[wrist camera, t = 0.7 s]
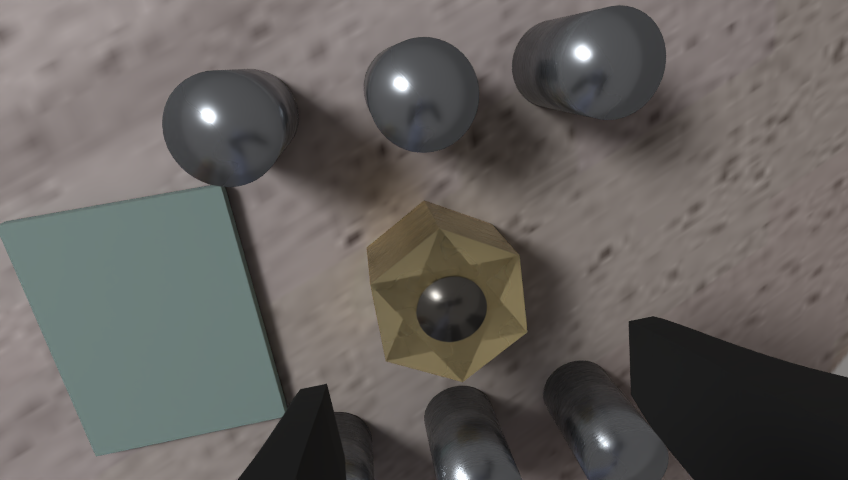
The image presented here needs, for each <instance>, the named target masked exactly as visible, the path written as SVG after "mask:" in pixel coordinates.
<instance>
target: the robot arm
mask: <svg viewBox="0 0 848 480" xmlns="http://www.w3.org/2000/svg"><path fill="white" fill-rule="evenodd" d="M629 346H630V378H631V395H632V397H633V398H634V400H635V402H636V403H637V405H638V407H639V408H640V410H641V412H642V413H643V415H644V417H645V418H646V420H647V421H648V423H649V424H650V426H651V427H652V429H653V430H654V432H655V433H656V434H657V435H658V437H659V438H660V439H661V440H662V442H663V443H664V444H665V445H666V447H667V448H668V449H669V450H670V451H671V453H672V454H673V455H674V456H675V458H676V459H677V460H678V461H679V462H680V464H681V465H682V466H683V467H684V468H685V470H686V471H687V472H688V473H689V474H690V476H691V477H692V478H693V479H694V480H848V378H847V377H844V376H840V375H836V374H831V373H827V372H823V371H819V370H815V369H811V368H807V367H804V366H800V365H797V364H793V363H790V362H786V361H783V360H780V359H777V358H774V357H770V356H767V355H764V354H761V353H758V352H755V351H752V350H749V349H746V348H743V347H740V346H737V345H734V344H732V343H729V342H726V341H723V340H721V339H718V338H715V337H712V336H710V335H707V334H704V333H702V332H699V331H696V330H693V329H691V328H688V327H685V326H682V325H680V324H677V323H674V322H671V321H668V320H665V319H661V318H658V317H654V316H652V317H647V318H643V319H638V320H633V321H629ZM238 480H346V466H345V455H344V451H343V447H342V443H341V439H340V435H339V431H338V426H337V422H336V418H335V414H334V410H333V406H332V402H331V398H330V394H329V390H328V386H327V384H324V385H319V386H314V387H309V388H304V389H300V390H299V392H298V393H297V395H296V396H295V398H294V399H293V401H292V402H291V404H290V405H289V407H288V409H287V410H286V412H285V413H284V415H283V416H282V418H281V420H280V421H279V423H278V424H277V426H276V427H275V429H274V430H273V432H272V433H271V435H270V436H269V438H268V439H267V441H266V442H265V443H264V445H263V446H262V448H261V449H260V451H259V452H258V454H257V455H256V456H255V458H254V459H253V460H252V462H251V463H250V464H249V466H248V467H247V468H246V469H245V471H244V472H243V473H242V475H241V476H240V477H239V479H238Z"/></svg>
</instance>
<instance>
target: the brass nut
mask: <svg viewBox="0 0 848 480" xmlns="http://www.w3.org/2000/svg"><path fill="white" fill-rule="evenodd" d="M367 256H368V266H369V276H370V285H371V290H372V295H373V300H374V305H375V310H376V315H377V320H378V325H379V330H380V335H381V340H382V344H383V349H384V354H385V359H386V361H387V362H390V363H394V364H398V365H402V366H405V367H409V368H413V369H416V370H420V371H424V372H427V373H431V374H435V375H438V376H442V377H446V378H450V379H453V380H457V381H461V382H463V381H465V380H466V379H467V378H469V377H470V376H471V375H473V374H474V373H475V372H476V371H478V370H479V369H480V368H482V367H483V366H484V365H485V364H487V363H488V362H489V361H491V360H492V359H493V358H495V357H496V356H497V355H498V354H500V353H501V352H502V351H504V350H505V349H506V348H507V347H509V346H510V345H511V344H513V343H514V342H515V341H517V340H518V339H519V338H520V337H522V336H523V335H524V334H526V333H527V324H526V314H525V304H524V294H523V285H522V275H521V265H520V255H519V254H518V253H517V252H516V251H515V250H514V249H513V248H512V247H511V245H510V244H509V243H508V242H507V241H506V240H505V239H504V238H503V236H502V235H501V234H500V233H499V232H498V231H497V230H496V229H495V227H494V226H493V225H492V224H490V223H487V222H484V221H481V220H478V219H476V218H473V217H470V216H467V215H464V214H461V213H458V212H456V211H453V210H450V209H447V208H444V207H441V206H438V205H436V204H433V203H430V202H427V201H423V202H422V203H420V204H419V205H418V206H417V207H415V208H414V209H413V210H412V211H411V212H409V213H408V214H407V215H406V216H405V217H403V218H402V219H401V220H400V221H398V222H397V223H396V224H395V225H394V226H392V227H391V228H390V229H389V230H388V231H386V232H385V233H384V234H383V235H381V236H380V237H379V238H378V239H377V240H375V241H374V242H373V243H372V244H370V245H369V246H368V247H367Z"/></svg>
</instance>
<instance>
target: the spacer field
mask: <svg viewBox="0 0 848 480" xmlns="http://www.w3.org/2000/svg"><path fill="white" fill-rule="evenodd" d="M665 64H666V48H665V43H664V39H663V36H662V34H661V32H660V30H659V28H658V26H657V25H656V23H655V22H654V21H653V20H652V19H651V18H650V17H649V16H648V15H647V14H645V13H644V12H642V11H640V10H638V9H636V8H633V7H629V6H611V7H606V8H602V9H597V10H593V11H588V12H584V13H579V14H575V15H571V16H566V17H562V18H557V19H553V20H548V21H544V22H541V23H539V24H537V25H535V26H533V27H532V28H531V29H529V30H528V31H527V32H526V33H525V34H524V35H523V37H522V38H521V39H520V41H519V43H518V45H517V47H516V49H515V52H514V55H513V60H512V73H513V78H514V82H515V84H516V86H517V88H518V90H519V92H520V93H521V94H522V95H523V96H524V97H525V98H526V99H527V100H528V101H530V102H531V103H533V104H535V105H538V106H541V107H546V108H551V109H555V110H560V111H564V112H569V113H574V114H578V115H583V116H588V117H592V118H597V119H602V120H614V119H619V118H623V117H626V116H628V115H631V114H632V113H634V112H636V111H637V110H639V109H640V108H642V107H643V106H644V105H645V104H646V103H647V102H648V101H649V100H650V99H651V97H652V96H653V95H654V93H655V92H656V90H657V88H658V86H659V85H660V82H661V80H662V77H663V74H664V70H665ZM364 96H365V100H366V103H367V106H368V108H369V111H370V113H371V115H372V117H373V120H374V122H375V123H376V125H377V127H378V128H379V130H380V131H381V133H382V134H383V135H384V136H385V137H386V138H387V139H388V140H390V141H391V142H392V143H394V144H395V145H397V146H399V147H401V148H403V149H406V150H409V151H413V152H422V153H426V152H434V151H438V150H441V149H444V148H446V147H448V146H450V145H452V144H453V143H455V142H456V141H457V140H459V139H460V138H461V137H462V136H463V135H464V134H465V132H466V131H467V130H468V128H469V127H470V125H471V124H472V122H473V120H474V117H475V115H476V112H477V108H478V103H479V86H478V81H477V77H476V74H475V72H474V69H473V67H472V65H471V64H470V62H469V61H468V59H467V58H466V57H465V56H464V54H463V53H462V52H460V51H459V50H458V49H457V48H456V47H454V46H453V45H451V44H449V43H447V42H445V41H443V40H440V39H436V38H431V37H418V38H412V39H408V40H406V41H403V42H401V43H398V44H396V45H394V46H391V47H389V48H387V49H385V50H384V51H382V52H381V53H380V54H378V55H377V56H376V57H375V58H374V60H373V61H372V62H371V64H370V66H369V67H368V70H367V72H366V75H365V80H364ZM297 126H298V108H297V104H296V101H295V99H294V96H293V95H292V93H291V91H290V90H289V89H288V87H287V86H286V85H285V84H284V83H283V82H282V81H281V80H279V79H278V78H277V77H275V76H273V75H272V74H270V73H267V72H264V71H261V70H256V69H238V70H215V71H206V72H201V73H198V74H195V75H193V76H191V77H189V78H187V79H186V80H184V81H183V82H182V83H180V84H179V85H178V86H177V87H176V88H175V89H174V91H173V92H172V93H171V95H170V96H169V98H168V100H167V102H166V105H165V108H164V112H163V120H162V127H163V134H164V139H165V142H166V145H167V147H168V149H169V151H170V153H171V155H172V156H173V158H174V159H175V161H176V162H177V163H178V164H179V165H180V166H181V168H183V169H184V170H185V171H186V172H187V173H188V174H190V175H191V176H193V177H194V178H196V179H198V180H200V181H202V182H205V183H207V184H210V185H214V186H220V187H236V186H241V185H245V184H248V183H251V182H253V181H255V180H257V179H258V178H260V177H261V176H263V175H264V174H265V173H266V172H267V171H268V170H269V169H270V168H271V167H272V165H273V164H274V163H275V161H276V160H277V159H278V157H279V156H280V155H281V153H282V152H283V151H284V150H285V148H286V147H287V146H288V144H289V143H290V142H291V140H292V139H293V137H294V135H295V133H296V130H297ZM543 398H544V403H545V405H546V407H547V409H548V411H549V412H550V414H551V416H552V418H553V419H554V421H555V423H556V424H557V426H558V428H559V430H560V431H561V433H562V435H563V437H564V438H565V440H566V442H567V444H568V445H569V447H570V449H571V450H572V452H573V454H574V456H575V457H576V459H577V461H578V463H579V464H580V466H581V468H582V470H583V471H584V473H585V475H586V476H587V478H588V480H661V478H662V477H663V475H664V473H665V471H666V469H667V465H668V451H667V448H666V446H665V444H664V443H663V442H662V440H661V439H660V438H659V437H658V435H657V434H656V433H655V432H654V431H653V429H652V428H651V427H650V426H649V425H648V423H647V422H646V421H645V420H644V419H643V417H642V416H641V415H640V414H639V413H638V411H637V410H636V409H635V408H634V407H633V405H632V404H631V403H630V402H629V401H628V399H627V398H626V397H625V396H624V395H623V393H622V392H621V391H620V390H619V389H618V387H617V386H616V385H615V384H614V383H613V381H612V380H611V379H610V378H609V377H608V375H607V374H606V373H605V372H604V371H603V369H602V368H601V367H599V366H598V365H596V364H595V363H592V362H589V361H574V362H570V363H567V364H565V365H563V366H561V367H560V368H558V369H557V370H556V371H555V372H554V373H553V374H552V375H551V376H550V377H549V379H548V380H547V382H546V385H545V387H544V393H543ZM334 414H335V418H336V422H337V426H338V431H339V435H340V439H341V443H342V447H343V451H344V455H345V466H346V480H374V469H373V452H372V437H371V433H370V430H369V428H368V426H367V425H366V424H365V423H364V422H363V421H362V420H361V419H360V418H358V417H356V416H354V415H352V414H348V413H343V412H334ZM424 421H425V427H426V432H427V437H428V441H429V446H430V451H431V456H432V460H433V465H434V470H435V475H436V479H437V480H522V478H521V476H520V473H519V471H518V469H517V466H516V464H515V461H514V459H513V457H512V454H511V452H510V449H509V447H508V445H507V442H506V440H505V437H504V435H503V433H502V430H501V428H500V425H499V423H498V421H497V418H496V416H495V413H494V411H493V409H492V406H491V404H490V401H489V400H488V398H487V397H486V396H485V395H484V394H483V393H482V392H481V391H479V390H477V389H475V388H472V387H468V386H456V387H451V388H448V389H446V390H444V391H442V392H440V393H439V394H437V395H436V396H435V397H434V398H433V399H432V400H431V401H430V403H429V404H428V406H427V408H426V411H425V415H424Z"/></svg>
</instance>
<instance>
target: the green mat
mask: <svg viewBox="0 0 848 480" xmlns="http://www.w3.org/2000/svg"><path fill="white" fill-rule="evenodd" d="M0 237H1V239H2V241H3V244H4V246H5V248H6V251H7V253H8V255H9V258H10V260H11V262H12V264H13V267H14V269H15V271H16V274H17V276H18V278H19V281H20V283H21V285H22V287H23V290H24V292H25V294H26V297H27V299H28V301H29V304H30V306H31V308H32V310H33V313H34V315H35V317H36V320H37V322H38V324H39V327H40V329H41V331H42V333H43V336H44V338H45V340H46V343H47V345H48V347H49V350H50V352H51V354H52V356H53V359H54V361H55V363H56V366H57V368H58V370H59V373H60V375H61V377H62V379H63V382H64V384H65V386H66V389H67V391H68V393H69V396H70V398H71V400H72V402H73V405H74V407H75V409H76V412H77V414H78V416H79V419H80V421H81V423H82V425H83V428H84V430H85V432H86V435H87V437H88V439H89V442H90V444H91V446H92V448H93V451H94V453H95V455H96V456H100V455H105V454H110V453H115V452H119V451H124V450H129V449H134V448H138V447H143V446H148V445H153V444H157V443H162V442H167V441H172V440H176V439H181V438H186V437H191V436H195V435H200V434H205V433H210V432H214V431H219V430H224V429H229V428H233V427H238V426H243V425H248V424H252V423H257V422H262V421H267V420H271V419H276V418H281V417H282V416H283V415H284V413H285V412H286V410H287V409H288V408H287V405H286V401H285V398H284V394H283V391H282V387H281V383H280V380H279V376H278V373H277V369H276V366H275V362H274V359H273V355H272V351H271V348H270V344H269V341H268V337H267V334H266V330H265V327H264V323H263V319H262V316H261V312H260V309H259V305H258V302H257V298H256V295H255V291H254V287H253V284H252V280H251V277H250V273H249V270H248V266H247V263H246V259H245V255H244V252H243V248H242V245H241V241H240V238H239V234H238V231H237V227H236V223H235V220H234V216H233V213H232V209H231V206H230V202H229V199H228V195H227V191H226V188H225V187H220V186H214V185H210V186H204V187H198V188H193V189H187V190H181V191H176V192H170V193H164V194H159V195H153V196H147V197H142V198H136V199H130V200H125V201H119V202H113V203H108V204H102V205H96V206H91V207H85V208H79V209H74V210H68V211H62V212H57V213H51V214H45V215H40V216H34V217H28V218H23V219H17V220H11V221H6V222H3V223H1V224H0Z"/></svg>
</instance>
